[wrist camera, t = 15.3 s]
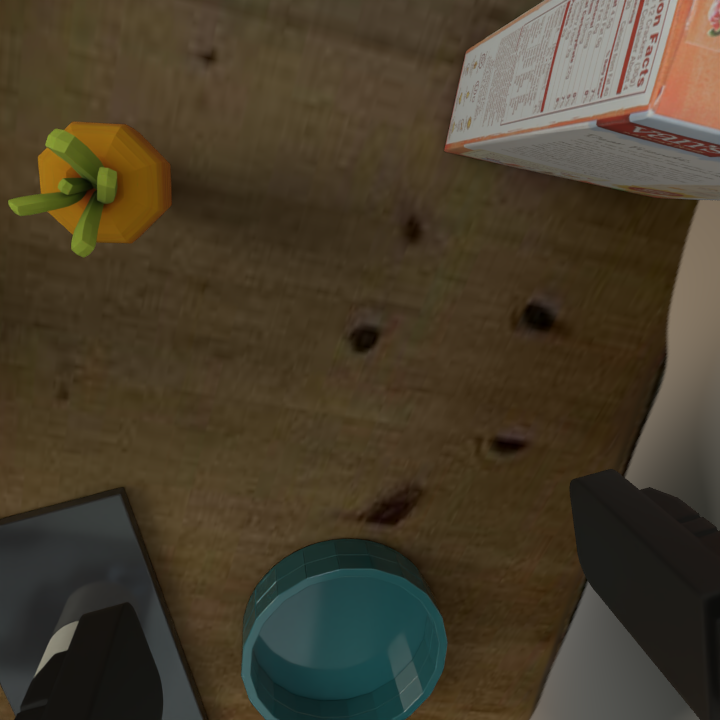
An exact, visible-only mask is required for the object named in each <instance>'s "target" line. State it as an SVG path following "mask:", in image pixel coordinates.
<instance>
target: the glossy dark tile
mask: <svg viewBox="0 0 720 720" xmlns="http://www.w3.org/2000/svg"><path fill="white" fill-rule="evenodd" d="M125 602H128V603H130V604H131V605H132V606H133V608H134V610H135V612H136V614H137V617H138V619H139V622H140V624H141V627H142V630H143V632H144V635H145V638H146V640H147V643H148V645H149V648H150V651H151V653H152V656H153V658H154V661H155V664H156V666H157V669H158V672H159V675H160V679H161V683H162V690H163V714H162V720H208V718H207V715H206V713H205V710H204V707H203V704H202V702H201V699H200V696H199V693H198V691H197V688H196V685H195V682H194V680H193V677H192V674H191V671H190V669H189V666H188V663H187V660H186V658H185V655H184V652H183V649H182V647H181V644H180V641H179V638H178V636H177V633H176V630H175V627H174V625H173V622H172V619H171V616H170V614H169V611H168V608H167V605H166V603H165V600H164V597H163V594H162V592H161V589H160V586H159V583H158V581H157V578H156V575H155V572H154V570H153V567H152V564H151V561H150V559H149V556H148V553H147V550H146V548H145V545H144V542H143V539H142V537H141V534H140V531H139V528H138V526H137V523H136V520H135V517H134V515H133V512H132V509H131V506H130V504H129V501H128V498H127V496H126V493H125V490H124V488H123V487H121V488H117V489H114V490H110V491H106V492H102V493H98V494H94V495H91V496H87V497H83V498H79V499H75V500H72V501H68V502H64V503H60V504H56V505H53V506H49V507H45V508H41V509H37V510H34V511H30V512H26V513H22V514H18V515H14V516H11V517H7V518H3V519H0V685H1V687H2V689H3V691H4V693H5V695H6V697H7V699H8V701H9V704H10V706H11V708H12V710H13V712H14V714H15V716H16V715H17V713H20V706H21V704H22V701H23V699H24V697H25V695H26V692H27V690H28V688H29V685H30V683H31V681H32V679H33V678H34V676H35V673H36V671H37V669H38V667H39V664H40V662H41V660H42V657H43V655H44V653H45V650H46V648H47V646H48V644H49V642H50V640H51V638H52V637H53V635H54V634H55V633H56V632H57V631H58V630H60V629H61V628H62V627H64V626H66V625H68V624H70V623H72V622H75V621H79V620H80V618H81V616H82V615H83V614H86V613H89V612H93V611H97V610H100V609H104V608H107V607H111V606H115V605H118V604H122V603H125Z"/></svg>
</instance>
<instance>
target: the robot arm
mask: <svg viewBox="0 0 720 720" xmlns="http://www.w3.org/2000/svg"><path fill="white" fill-rule="evenodd" d="M570 498H571V505H572V513H573V521H574V529H575V537H576V544H577V552H578V557H579V560H580V564H581V567H582V569H583V572H584V574H585V576H586V578H587V580H588V582H589V583H590V585H591V586H592V588H593V589H594V590H595V591H596V593H597V594H598V595H599V596H600V597H601V598H602V600H603V601H604V602H605V604H606V605H607V606H608V607H609V609H610V610H611V611H612V612H613V613H614V615H615V616H616V617H617V618H618V620H619V621H620V622H621V623H622V624H623V626H624V627H625V628H626V629H627V631H628V632H629V633H630V634H631V635H632V637H633V638H634V639H635V640H636V641H637V643H638V644H639V645H640V646H641V648H642V649H643V650H644V651H645V652H646V654H647V655H648V656H649V657H650V659H651V660H652V661H653V662H654V664H655V665H656V666H657V667H658V669H659V670H660V671H661V672H662V673H663V675H664V676H665V677H666V678H667V680H668V681H669V682H670V683H671V684H672V686H673V687H674V688H675V689H676V690H677V692H678V693H679V694H680V695H681V697H682V698H683V699H684V700H685V701H686V703H687V704H688V705H689V706H690V708H691V709H692V710H693V711H694V713H695V714H696V715H697V716H698V717H699V719H700V720H720V531H718V530H717V528H716V527H715V526H714V525H713V524H711V523H710V522H709V521H708V520H706V519H705V518H704V517H700V516H699V513H697V512H696V511H694V510H693V509H692V508H691V507H689V506H688V505H687V504H685V503H684V502H683V501H681V500H680V499H679V498H677V497H674V496H672V495H669V494H666V493H663V492H661V491H658V490H656V489H653V488H650V487H649V488H645V489H642V490H639V489H638V488H636V487H635V486H634V485H633V484H632V483H630V482H629V481H628V480H627V479H625V478H624V477H623V476H622V475H621V474H619V473H618V472H617V471H615V470H613V469H608V470H605V471H601V472H598V473H594V474H590V475H587V476H583V477H580V478H576V479H573V480H572V481H571V483H570ZM162 714H163V690H162V683H161V679H160V675H159V672H158V669H157V666H156V664H155V661H154V658H153V656H152V653H151V651H150V648H149V645H148V643H147V640H146V638H145V635H144V632H143V630H142V627H141V624H140V622H139V619H138V617H137V614H136V612H135V610H134V608H133V606H132V605H131V604H130V603H128V602H125V603H122V604H118V605H115V606H111V607H107V608H104V609H100V610H97V611H93V612H89V613H86V614H83V615H82V616H81V618H80V620H79V622H78V624H77V627H76V630H75V632H74V635H73V637H72V640H71V642H70V645H69V648H68V650H66V651H62V652H59V653H55V654H54V655H53V656H52V657H51V658H50V660H49V661H48V662H47V663H46V664H45V665H44V667H43V668H42V669H41V670H40V671H39V672H38V674H37V675H36V676H35V677H34V678H33V679H32V681H31V683H30V685H29V688H28V690H27V692H26V695H25V697H24V699H23V701H22V704H21V706H20V713H17V715H16V717H15V720H162Z"/></svg>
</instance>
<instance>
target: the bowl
mask: <svg viewBox="0 0 720 720" xmlns="http://www.w3.org/2000/svg"><path fill="white" fill-rule="evenodd" d="M447 642H448V641H447V636H446V632H445V627H444V622H443V617H442V615H441V613H440V610H439V608H438V606H437V603H436V601H435V599H434V596H433V594H432V591H431V589H430V587H429V586H428V584H427V583H426V581H425V579H424V577H423V576H422V574H421V573H420V571H419V570H418V569H417V568H416V566H415V565H414V564H413V563H412V562H411V561H410V560H408V559H407V558H406V557H405V556H403V555H402V554H400V553H399V552H397V551H395V550H394V549H392V548H390V547H387V546H385V545H382V544H379V543H376V542H372V541H367V540H360V539H336V540H329V541H324V542H320V543H316V544H313V545H310V546H307V547H305V548H303V549H301V550H298V551H296V552H294V553H292V554H291V555H289V556H288V557H286V558H284V559H283V560H282V561H280V562H279V563H278V564H277V565H275V566H274V567H273V568H272V569H271V570H270V571H269V572H268V573H267V574H266V575H265V576H264V577H263V578H262V580H261V581H260V582H259V584H258V585H257V586H256V588H255V590H254V592H253V593H252V595H251V597H250V599H249V602H248V604H247V607H246V611H245V614H244V618H243V634H242V661H241V677H242V680H243V682H244V685H245V688H246V691H247V694H248V697H249V700H250V702H251V703H252V705H253V706H254V707H255V708H256V709H257V710H258V712H259V713H260V714H261V715H262V716H263V717H264V719H265V720H405V719H406V718H408V717H409V716H410V715H411V714H412V713H413V712H414V711H415V710H416V709H417V708H418V707H419V706H420V705H421V704H422V703H423V702H424V701H425V700H426V699H427V698H428V697H429V696H430V695H431V693H432V691H433V689H434V687H435V685H436V683H437V682H438V680H439V678H440V676H441V674H442V672H443V669H444V663H445V657H446V651H447V644H448V643H447Z"/></svg>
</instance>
